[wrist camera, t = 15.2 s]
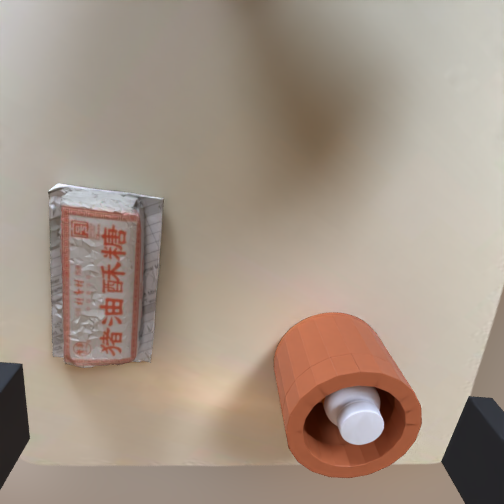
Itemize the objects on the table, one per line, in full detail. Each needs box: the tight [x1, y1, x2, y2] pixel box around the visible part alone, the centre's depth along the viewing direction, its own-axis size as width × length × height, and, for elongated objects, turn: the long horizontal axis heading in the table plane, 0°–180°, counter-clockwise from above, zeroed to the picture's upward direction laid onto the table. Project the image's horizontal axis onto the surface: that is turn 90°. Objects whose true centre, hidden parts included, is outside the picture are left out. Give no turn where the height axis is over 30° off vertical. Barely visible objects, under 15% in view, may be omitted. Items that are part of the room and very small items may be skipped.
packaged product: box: [48, 184, 164, 368], centre depth 37 cm, size 18×5×10 cm
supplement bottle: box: [322, 386, 384, 445], centre depth 39 cm, size 5×5×10 cm
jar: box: [274, 313, 422, 478], centre depth 40 cm, size 12×12×10 cm
